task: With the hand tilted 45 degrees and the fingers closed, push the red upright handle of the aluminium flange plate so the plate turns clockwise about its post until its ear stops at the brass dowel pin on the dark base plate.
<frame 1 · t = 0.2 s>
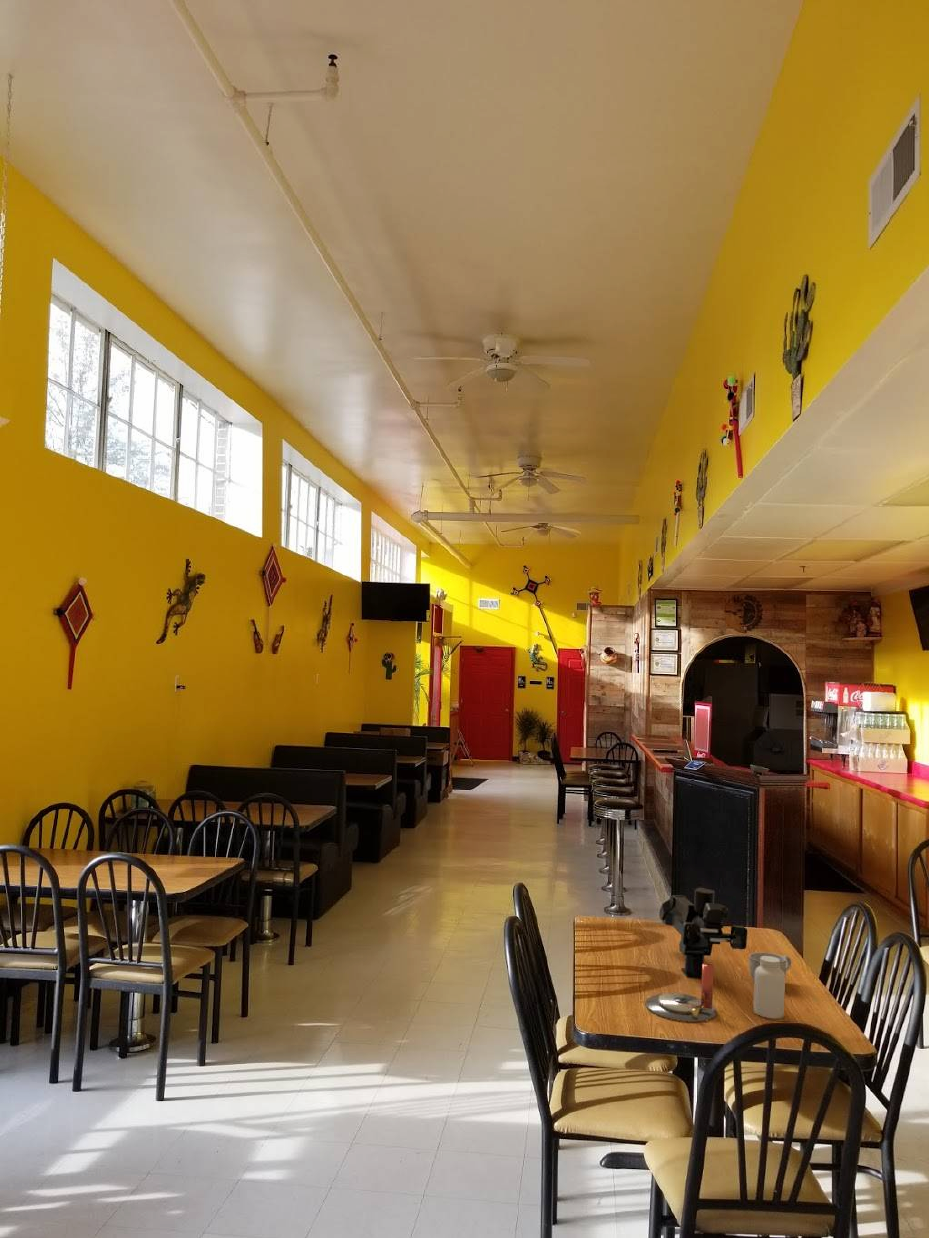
hand: (724, 945, 254), 16 cm above the table, tool horizontal, fingers open, 9 cm apart
pill bottle: (768, 1014, 248), on the table
teacup: (771, 983, 273), on the table
flange: (686, 983, 248), point 7 cm above the table, hinge at 0.0°
post plate: (680, 1008, 248), on the table
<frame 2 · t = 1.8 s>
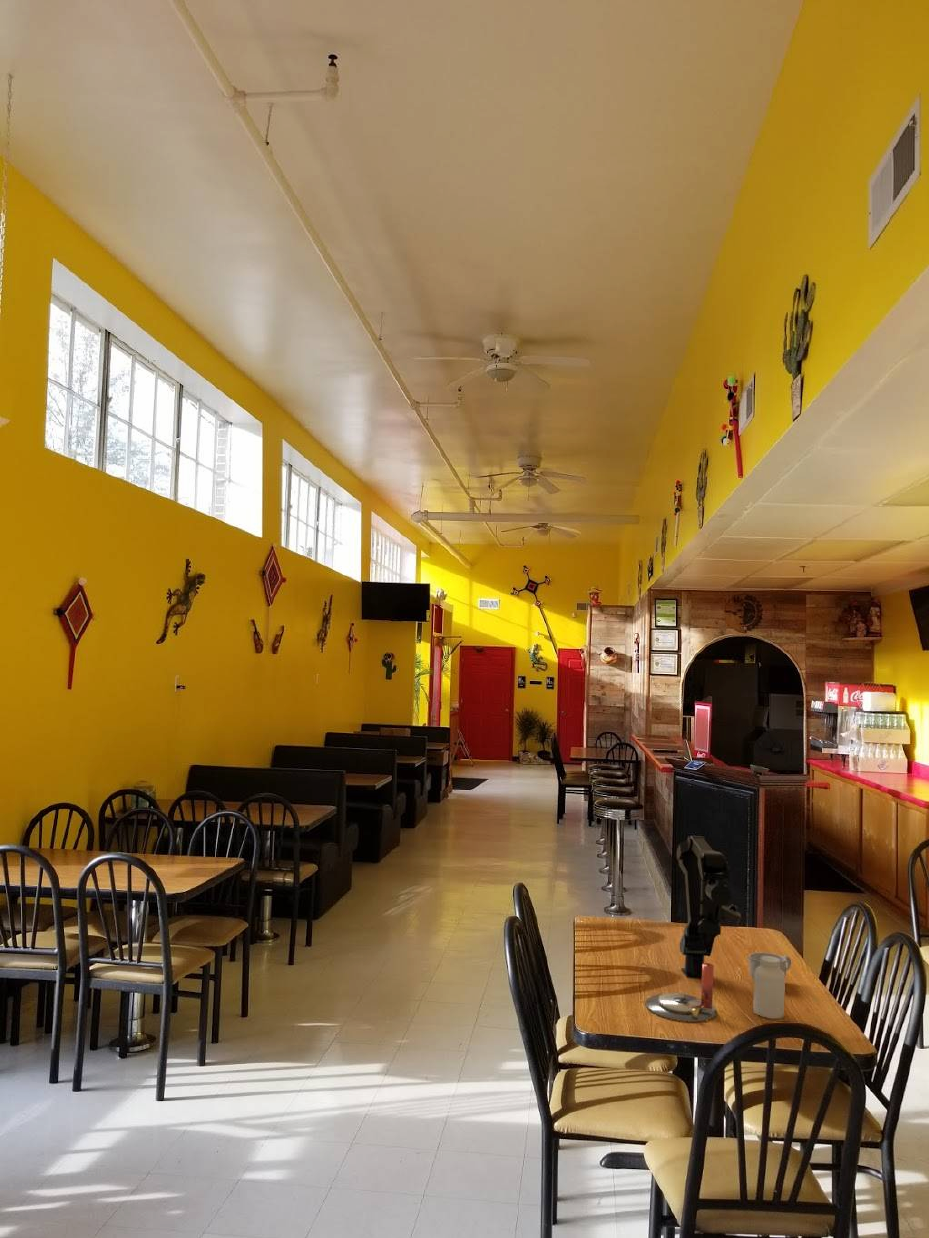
hand: (709, 950, 263), 12 cm above the table, tool pointing down, fingers open, 5 cm apart
nothing on the table moved.
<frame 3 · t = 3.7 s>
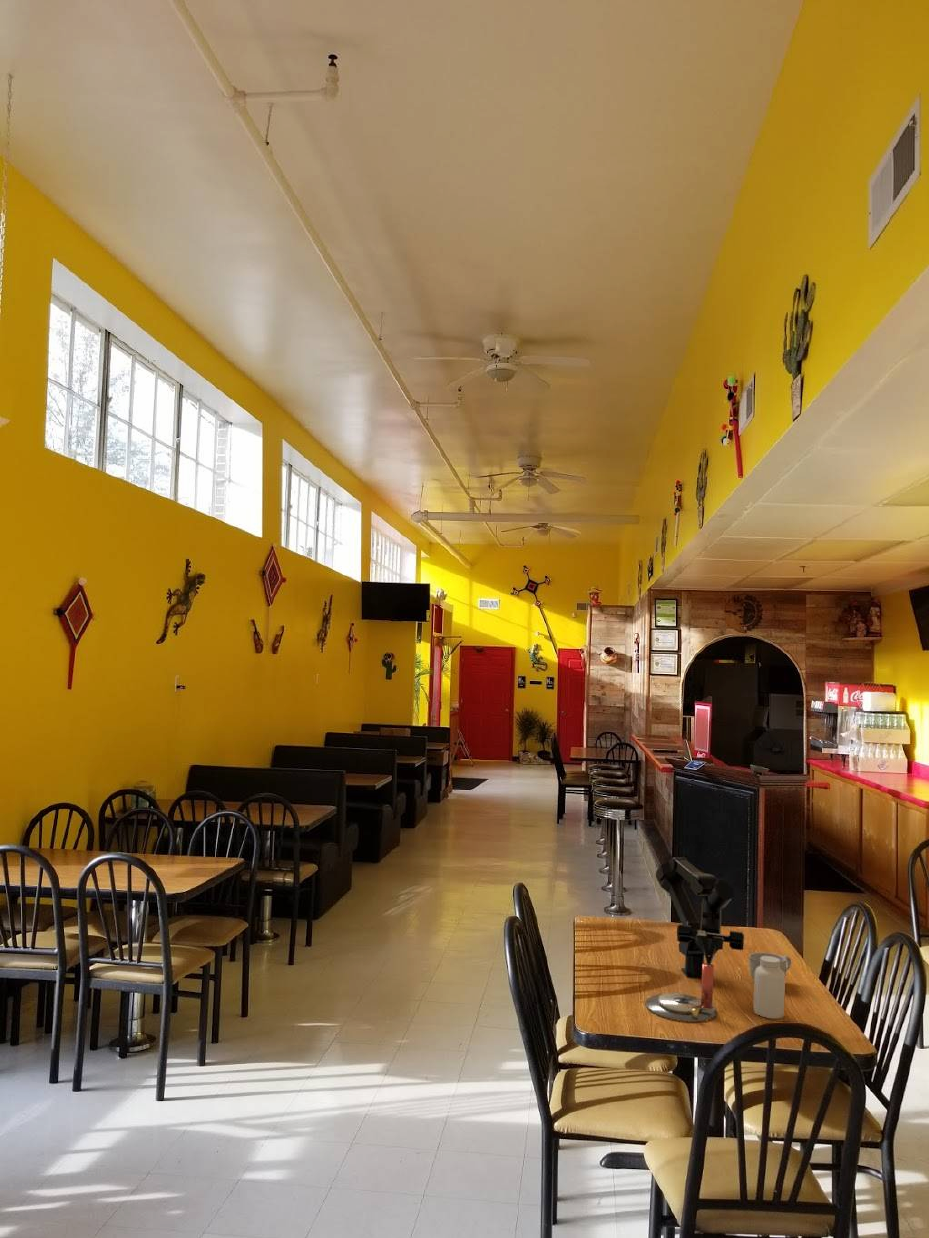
hand: (708, 964, 257), 10 cm above the table, tool tilted 45°, fingers closed
nothing on the table moved.
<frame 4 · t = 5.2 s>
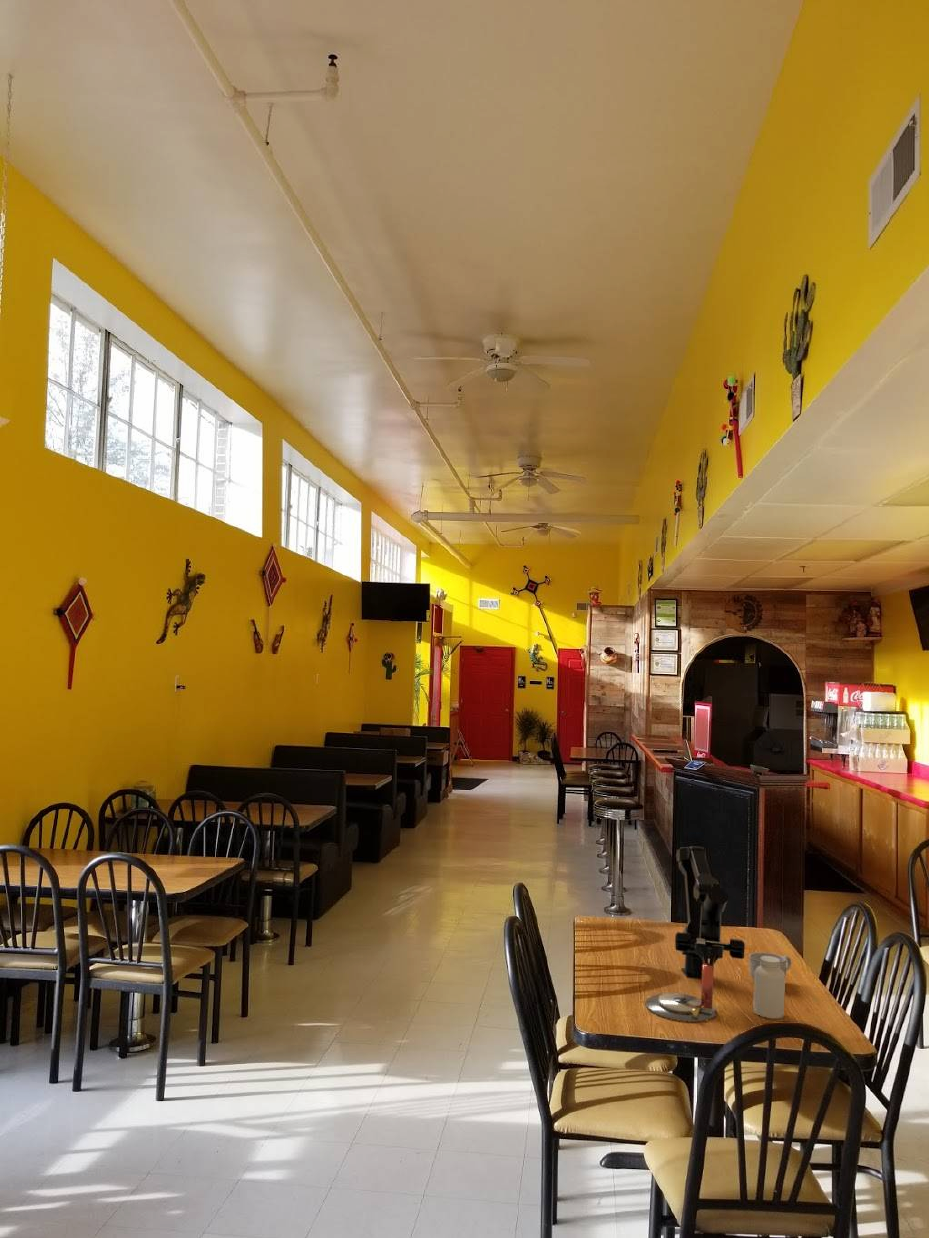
hand: (708, 973, 248), 10 cm above the table, tool tilted 45°, fingers closed, pressing on flange
flange: (686, 983, 248), point 7 cm above the table, hinge at 0.0°, touching gripper
everything else where it was.
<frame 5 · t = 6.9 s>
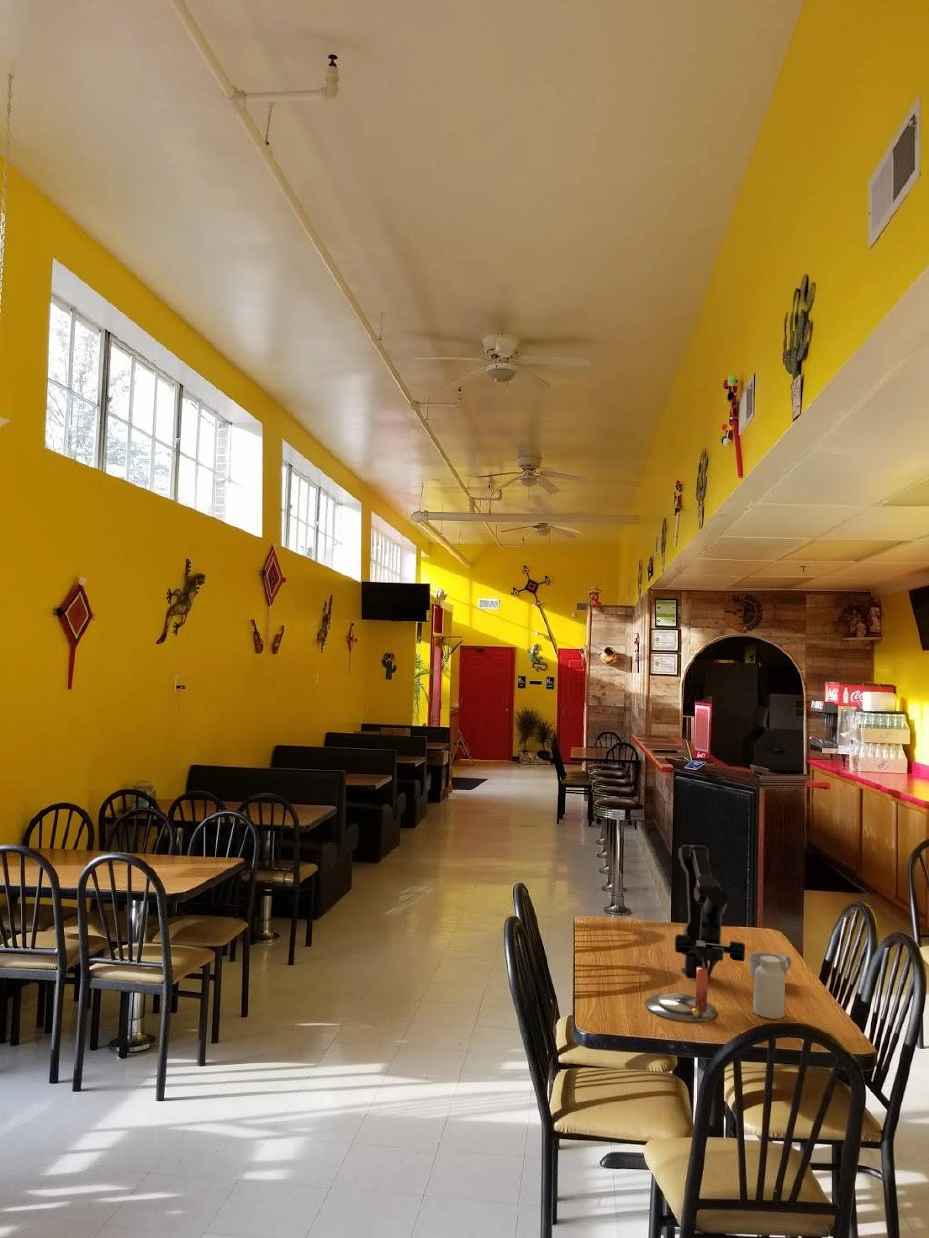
hand: (708, 976, 246), 10 cm above the table, tool tilted 45°, fingers closed
flange: (685, 984, 248), point 7 cm above the table, hinge at 29.4°
everything else where it was.
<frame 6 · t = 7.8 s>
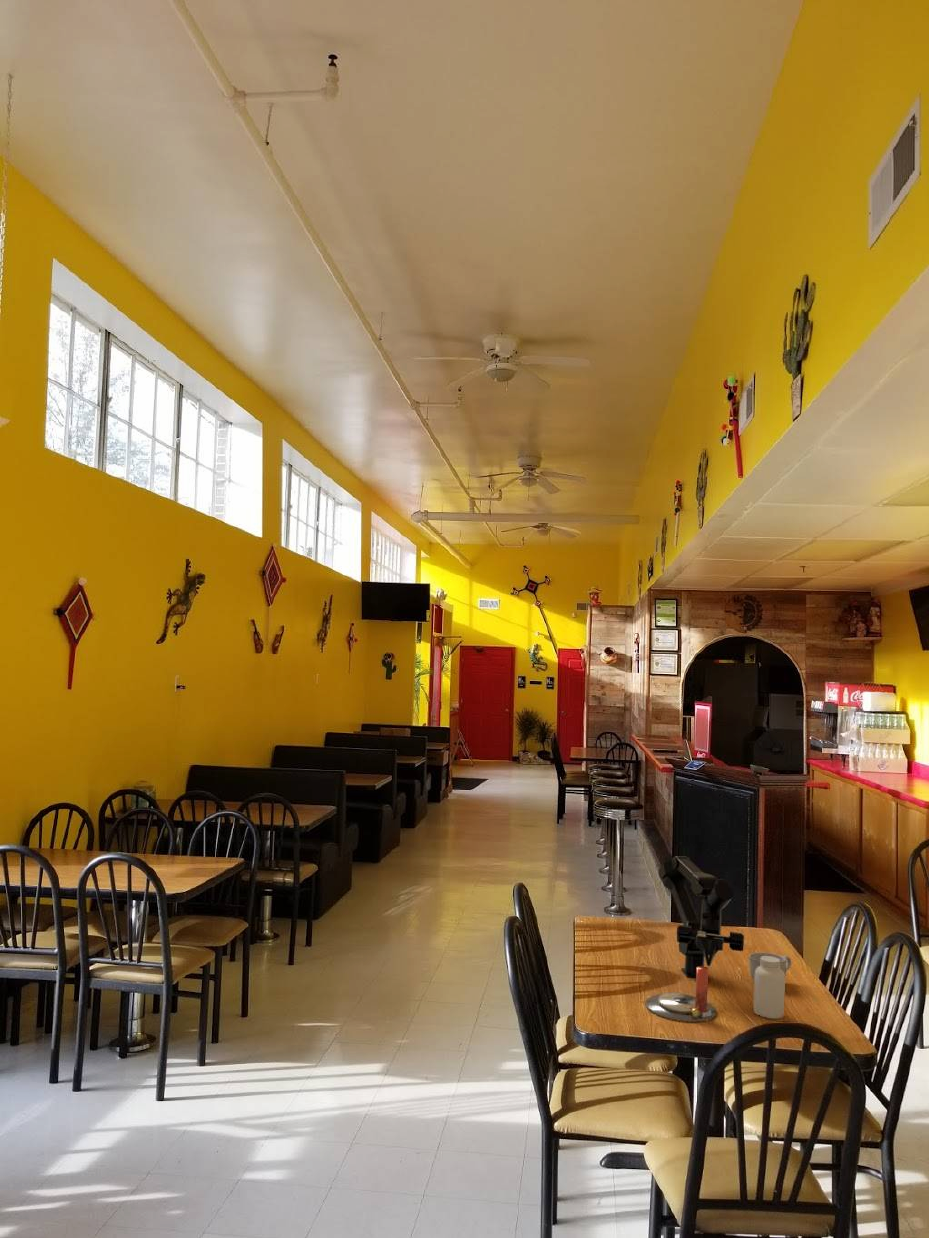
hand: (708, 965, 256), 10 cm above the table, tool tilted 45°, fingers closed
nothing on the table moved.
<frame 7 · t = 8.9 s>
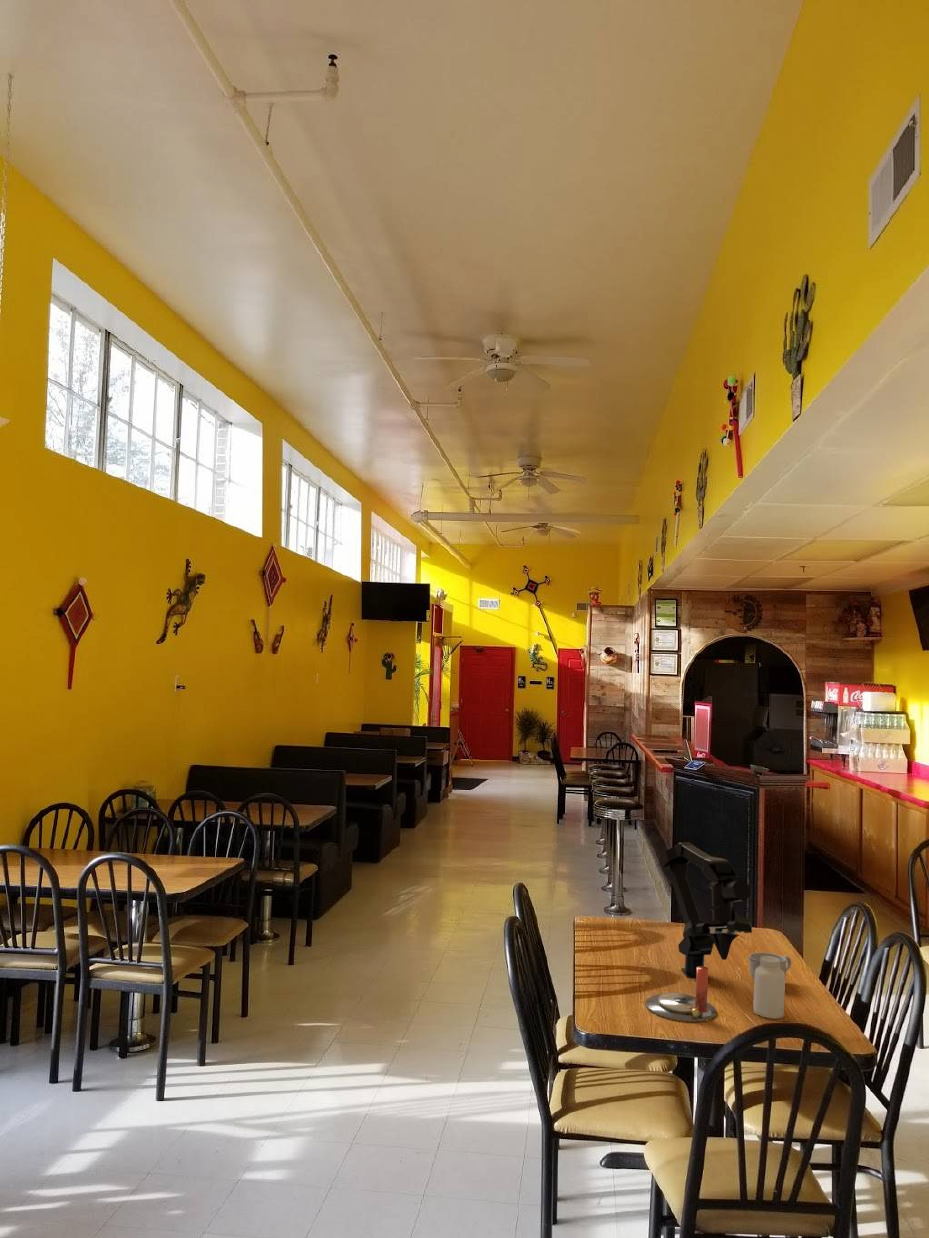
hand: (724, 959, 260), 11 cm above the table, tool tilted 20°, fingers closed
nothing on the table moved.
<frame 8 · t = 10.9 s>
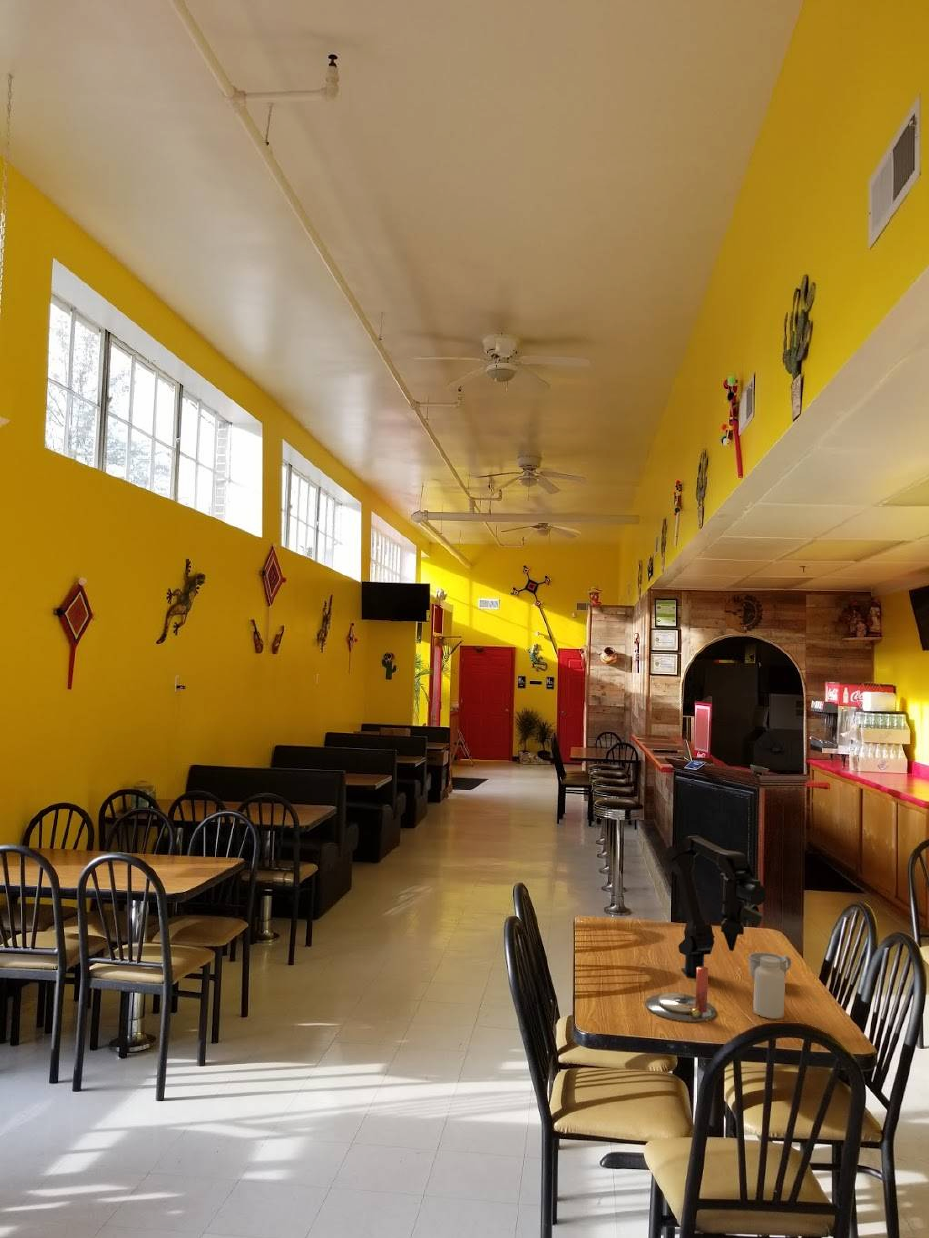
hand: (731, 950, 264), 12 cm above the table, tool pointing down, fingers closed
nothing on the table moved.
at the end: flange at +29° (first picture: +0°) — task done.
